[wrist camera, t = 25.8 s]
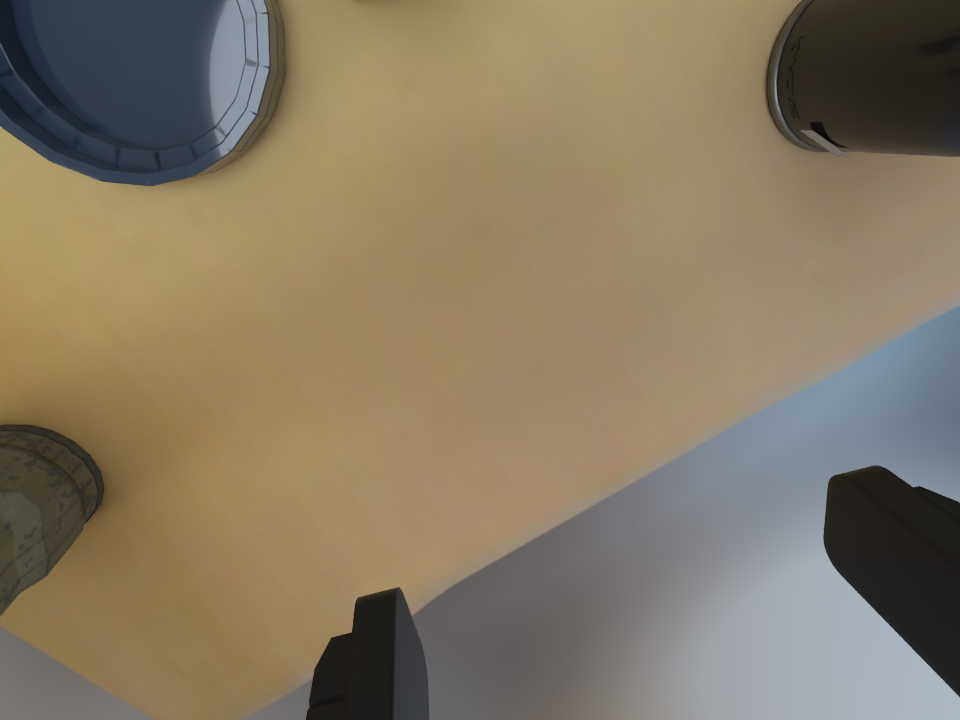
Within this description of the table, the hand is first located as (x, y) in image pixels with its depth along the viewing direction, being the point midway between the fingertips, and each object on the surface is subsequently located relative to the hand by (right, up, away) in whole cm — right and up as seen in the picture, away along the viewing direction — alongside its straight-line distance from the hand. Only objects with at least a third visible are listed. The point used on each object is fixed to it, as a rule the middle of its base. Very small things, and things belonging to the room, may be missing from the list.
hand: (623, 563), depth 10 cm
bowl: (-20, +20, +17) cm, 33 cm away
